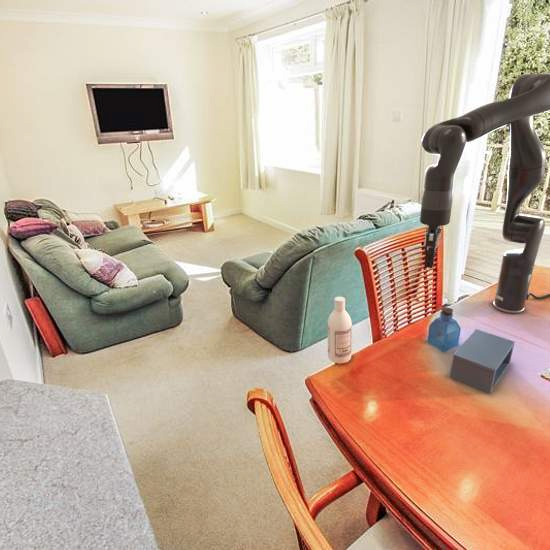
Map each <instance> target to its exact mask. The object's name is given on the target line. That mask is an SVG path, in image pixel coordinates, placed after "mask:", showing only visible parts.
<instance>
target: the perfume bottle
mask: <svg viewBox="0 0 550 550" xmlns="http://www.w3.org/2000/svg"><path fill="white" fill-rule="evenodd" d="M461 329H462V328H461V326H460V324H459V323H458V321H457V320H456V319H454V310H453V308H451V307H448V306H446V307H445V306H443V307H441V311H440V314H439V317H435V318H434V320H433V321H432V322H431V323H430V324H429V326H428V334H427V340H426V341H427V343H428V344H430V345H431V346H433V347H435V348H436V349H438V350H440V351H442V352H443V353H445V352H447V351H449V350H452V349H454V348H456V347H458V346H459V342H460V337H461Z"/></svg>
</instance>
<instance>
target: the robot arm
mask: <svg viewBox="0 0 550 550" xmlns="http://www.w3.org/2000/svg"><path fill="white" fill-rule="evenodd" d="M549 111H550V73H546V72H544V73H525V74H521V75H520V76H518V77H517V78H516V79H515V81H514V82H513V84H512V86H511V89H510V93H509V98H505V99H501V100H496V101H493V102H490V103H486V104H483V105H480V106H479V107H476V108H475V109H473V110H470V111H468V112H467V113H464V114H462V115H460V116H457V117H454V118H451V119H448V120H444V121H441V122H439V123H436V124H433V125H432V126H430V127H429V128H428V129H427V130H426V131H425V132H424V133H423V136H422V138H421V148H422V149H423V151H424V152H426V153H427V154H430V155H434V156H439V157H438V160H437V163H436V164H432V165H429V166H428V167H427V168H426V170H425V173H424V183H423V191H422V195H421V204H420V216H419V222H420V223H421V224H422V225H424V226H428V227H426V229H425V231H424V237H425V238H424V251H423V255H424V265H423V267H424V268H427V269H433V268H434V263H435V262H434V261H435V258H436V257H437V251H438V250H437V249H438V247H439V242H440V240H441V237H442V236H441V235H442V231H443V228H441V226H442V227H444V226H447V225H449V224H450V222H451V215H452V208H453V199H454V195H453V194H454V183H455V175H456V172H457V169H458V167H459V165H460V162H461V159H462V157H463V154H464V152H465V149H466V146H467V143H471V142H474V141H476V140H478V139H481V138H482V137H484V136H486V135H488V134H490V133H492V132H494V131H496V130H498V129H500V128H503V127H505V126H509V129H510V130H509V132H510V134H509V135H510V136H509V137H510V138H509V158H508V169H507V191H506V201H505V202H506V203H505V210H504V216H503V222H502V230H501V232H502V234H501V235H502V239H503V240H505V241H506V242H509V243H514V244H519V245H524V247H523V248H520V249H513V250H512V249H510V250H507V251H505V252H503V255H502V259H501V263H500V264H501V265H500V269H499V270H500V271H499V275H498V280H497V286H496V292H495V295H494V300H493V304H492V306H493V307H494V308H495V309H497V311H501V312H503V313H506V314H507V313H508V314H520V313H523V312H524V311H525V306H526V301H528V300H529V299H530V296H531V297H532V298H533V299H536V300H543V299H546V298H549V297H550V293H548V294H546V295H543V296H537V295H535V294H534V293H532V292H530V291H529V290H530V285H531V280H532V276H533V272H534V267H535V263H536V260H537V257H538V252H539V248H540V245H541V242H542V239H543V236H544V232H545V227H546V221H545V219H544V218H543V217H540V216H533V215H526V214H521V207H522V205H523V203H524V202H525V201H526V200H527V198H528V197H530V195H531V194H532V193H533V192H535V190H536V189H537V188H538V187H539V186H540V185H541V183H542V182H543V180H544V179H545V175H546V167H547V152H546V149H545V147H544V145H543V143H542V141H541V139H540V137H539V136H538V134H537V131H536V129H535V125H534V116H537V115H540V114H543V113H547V112H549Z"/></svg>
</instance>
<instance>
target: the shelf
mask: <svg viewBox="0 0 550 550" xmlns="http://www.w3.org/2000/svg"><path fill="white" fill-rule="evenodd" d="M515 343H516V342H515V341H514V340H511V339H508V338H506V337H505V338H504V337H503V336H500V335H496V334H493V333H489V332H486V331H483V330H480V329H477V328H476V329H475V330H474V331H473V332H472V333H471V334H470V335H469V336H468V337H467V339H465V341H464V342H463V343H462V344H461V345H460V346H459V348H458V349H457V350H456V351H455V352H454V353H453V355H452V362H451V369H450V375H449V378H450V379H453V380H455V381H457V382H461V383H463V384H464V385H467V386H470V387H472V388H474V389H477V390H479V391H481V392H483V393H487V394H489V395H490V394H491V393H492V392H493V390H494V389H495V388H496V386H497V384H498V382H500V380H501V378H502V376H503V375H504V374H505V372H506V371H507V369H508V367H509V366H510V364H511V360H512V355H513V351H514V348H515Z"/></svg>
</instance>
